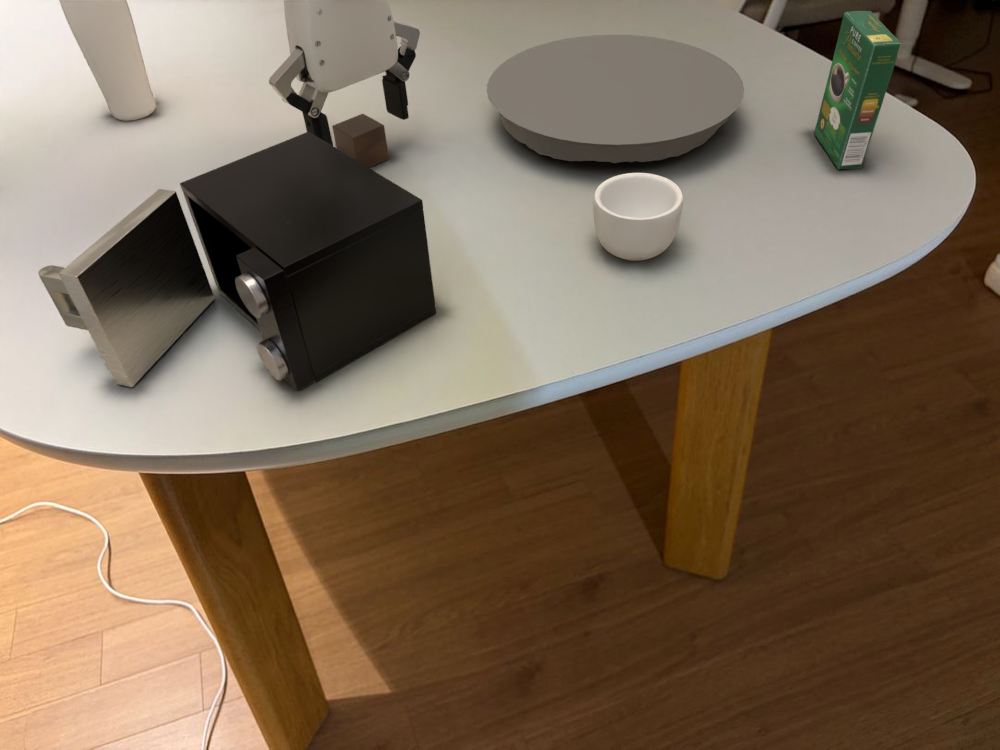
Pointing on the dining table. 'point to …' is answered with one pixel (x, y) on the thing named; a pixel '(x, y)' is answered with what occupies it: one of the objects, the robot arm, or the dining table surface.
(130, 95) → the white tapered cylinder
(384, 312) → the microwave
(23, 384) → the dining table surface
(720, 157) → the dining table surface
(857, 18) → the coffee box
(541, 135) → the flat disc
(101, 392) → the dining table surface
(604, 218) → the teacup
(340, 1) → the robot arm
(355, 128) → the block
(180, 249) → the microwave door
